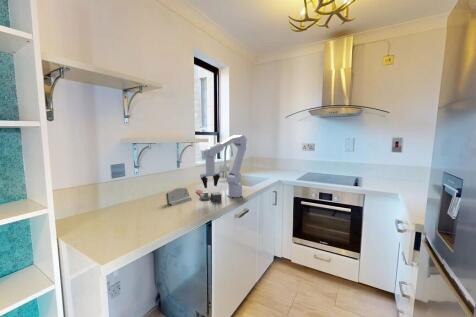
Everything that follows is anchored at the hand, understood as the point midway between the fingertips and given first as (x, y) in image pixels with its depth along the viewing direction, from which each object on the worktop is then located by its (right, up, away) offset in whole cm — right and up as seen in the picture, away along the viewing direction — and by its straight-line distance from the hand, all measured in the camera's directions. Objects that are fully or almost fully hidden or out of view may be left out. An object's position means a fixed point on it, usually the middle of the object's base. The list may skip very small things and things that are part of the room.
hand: (210, 186), depth 140 cm
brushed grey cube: (+4, -9, +1) cm, 10 cm away
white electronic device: (-21, -10, 0) cm, 23 cm away
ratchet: (-8, -8, +14) cm, 18 cm away
